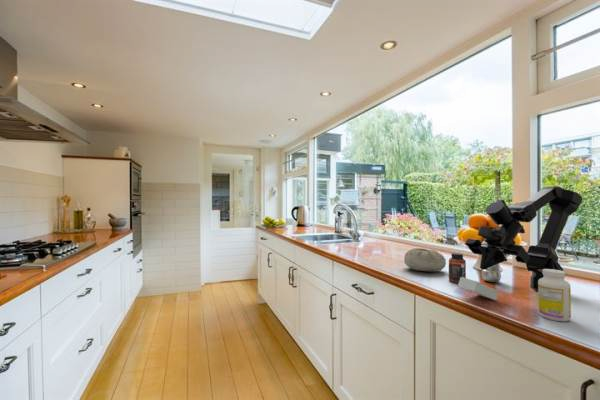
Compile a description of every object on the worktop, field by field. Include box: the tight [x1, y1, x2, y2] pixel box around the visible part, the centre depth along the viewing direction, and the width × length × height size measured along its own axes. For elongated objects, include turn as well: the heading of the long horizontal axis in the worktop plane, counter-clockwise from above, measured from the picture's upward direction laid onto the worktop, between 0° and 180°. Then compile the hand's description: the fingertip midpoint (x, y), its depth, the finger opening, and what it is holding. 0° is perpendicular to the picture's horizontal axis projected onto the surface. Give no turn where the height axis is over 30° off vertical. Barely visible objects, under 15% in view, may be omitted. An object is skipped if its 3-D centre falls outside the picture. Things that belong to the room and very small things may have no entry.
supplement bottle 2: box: [537, 269, 572, 322], centre depth 77 cm, size 7×7×13 cm
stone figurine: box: [481, 240, 502, 283], centre depth 113 cm, size 6×7×20 cm
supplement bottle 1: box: [448, 252, 467, 284], centre depth 112 cm, size 6×6×11 cm
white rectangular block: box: [457, 277, 499, 301], centre depth 92 cm, size 3×6×10 cm
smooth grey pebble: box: [403, 247, 447, 272], centre depth 131 cm, size 18×18×10 cm
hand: (481, 268), depth 92 cm, fingers closed
